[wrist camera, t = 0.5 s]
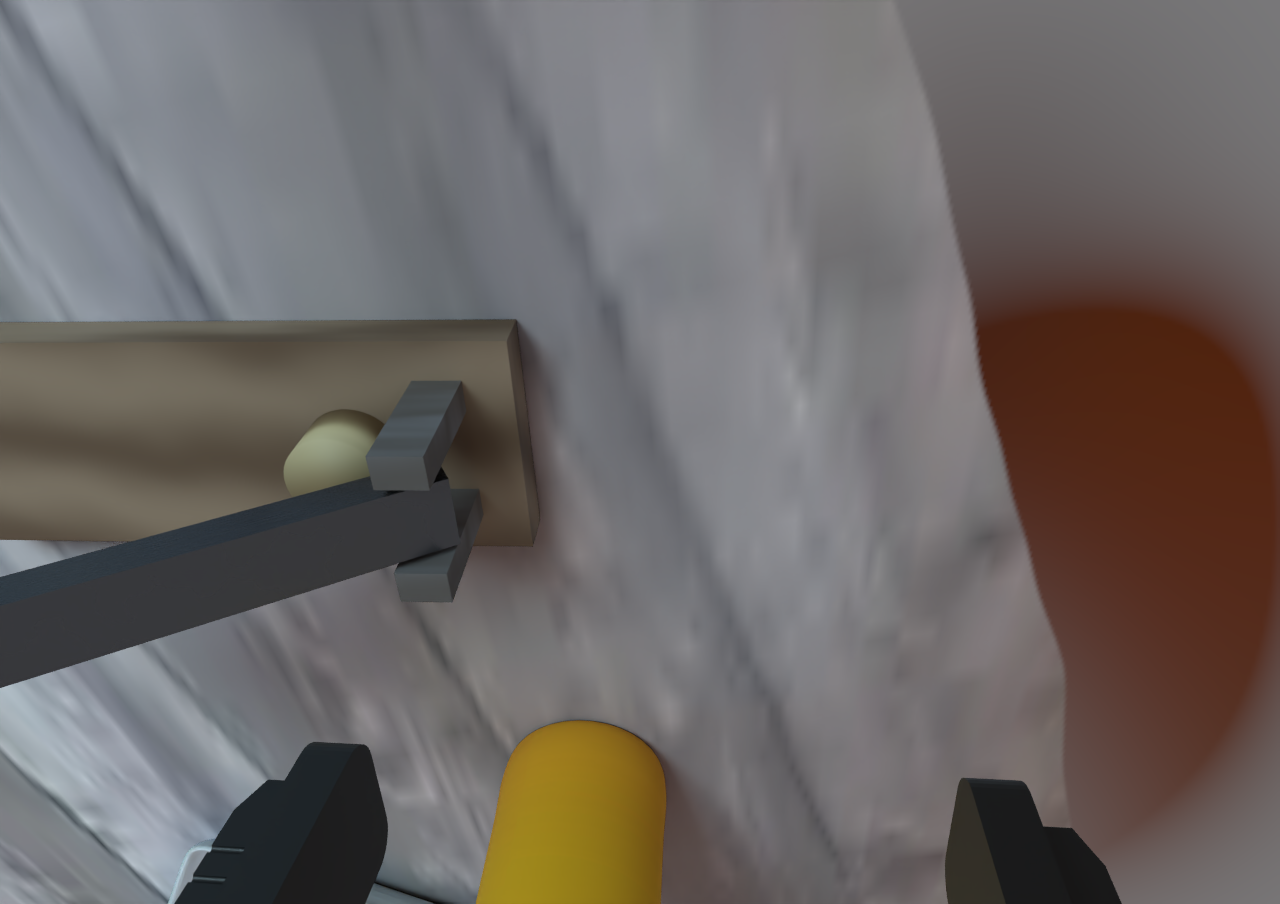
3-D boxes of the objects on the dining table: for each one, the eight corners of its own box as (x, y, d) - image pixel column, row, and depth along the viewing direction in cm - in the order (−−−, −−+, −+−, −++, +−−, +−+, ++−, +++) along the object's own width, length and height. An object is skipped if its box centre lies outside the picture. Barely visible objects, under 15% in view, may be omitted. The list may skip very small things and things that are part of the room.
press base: (-94, 322, 36) (-263, 411, 30) (516, 319, 34) (474, 413, 28) (8, 513, 41) (-116, 623, 35) (540, 519, 40) (509, 635, 33)
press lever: (-435, 673, 23) (-497, 754, 21) (433, 442, 32) (456, 482, 30) (-330, 776, 26) (-376, 859, 23) (451, 535, 34) (473, 579, 32)
